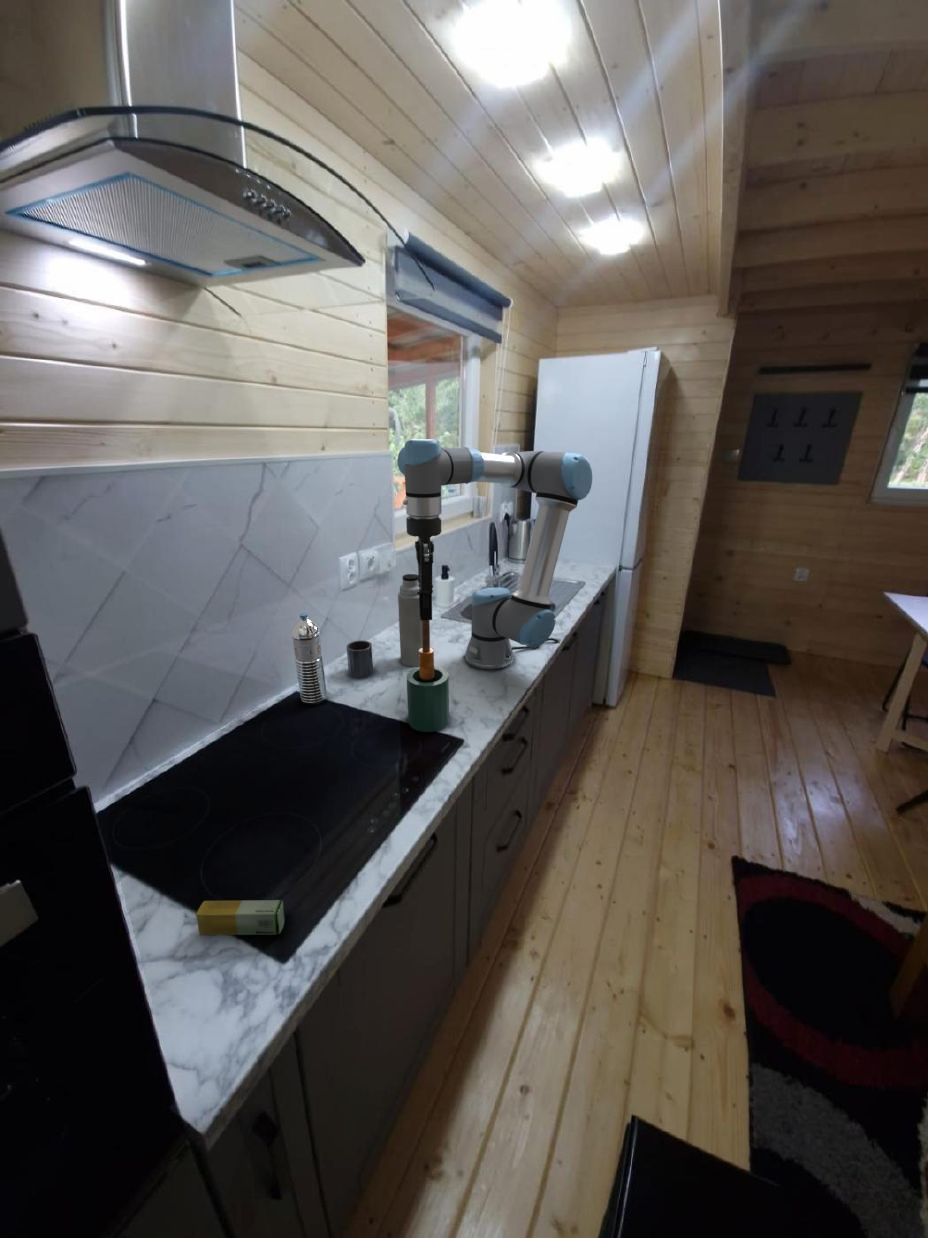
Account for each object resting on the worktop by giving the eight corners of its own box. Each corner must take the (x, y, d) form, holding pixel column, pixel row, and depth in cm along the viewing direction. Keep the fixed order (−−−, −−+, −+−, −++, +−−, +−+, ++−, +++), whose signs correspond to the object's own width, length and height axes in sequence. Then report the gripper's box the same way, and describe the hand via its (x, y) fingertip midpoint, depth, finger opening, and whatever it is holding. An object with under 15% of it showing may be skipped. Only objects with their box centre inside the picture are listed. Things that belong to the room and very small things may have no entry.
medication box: (286, 919, 76) (284, 899, 75) (280, 935, 73) (278, 914, 72) (206, 920, 75) (203, 899, 74) (197, 936, 73) (194, 915, 72)
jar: (446, 708, 131) (445, 664, 126) (450, 730, 122) (450, 684, 117) (407, 711, 130) (405, 667, 125) (409, 733, 120) (407, 687, 115)
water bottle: (319, 708, 131) (309, 620, 121) (296, 705, 132) (283, 618, 122) (331, 694, 137) (322, 610, 127) (308, 692, 138) (297, 608, 128)
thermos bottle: (398, 656, 159) (394, 573, 148) (422, 653, 161) (420, 570, 150) (403, 667, 152) (399, 580, 141) (428, 664, 154) (427, 578, 144)
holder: (373, 666, 153) (371, 639, 149) (373, 677, 146) (371, 650, 142) (349, 667, 152) (347, 641, 148) (348, 679, 145) (345, 651, 141)
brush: (433, 672, 123) (432, 575, 113) (434, 679, 119) (433, 580, 110) (418, 673, 122) (416, 576, 113) (419, 680, 119) (417, 580, 109)
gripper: (404, 510, 112) (408, 607, 121) (407, 522, 99) (411, 631, 108) (437, 509, 113) (438, 605, 122) (445, 522, 100) (445, 629, 109)
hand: (425, 617), depth 115 cm, fingers closed on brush, 2 cm apart
